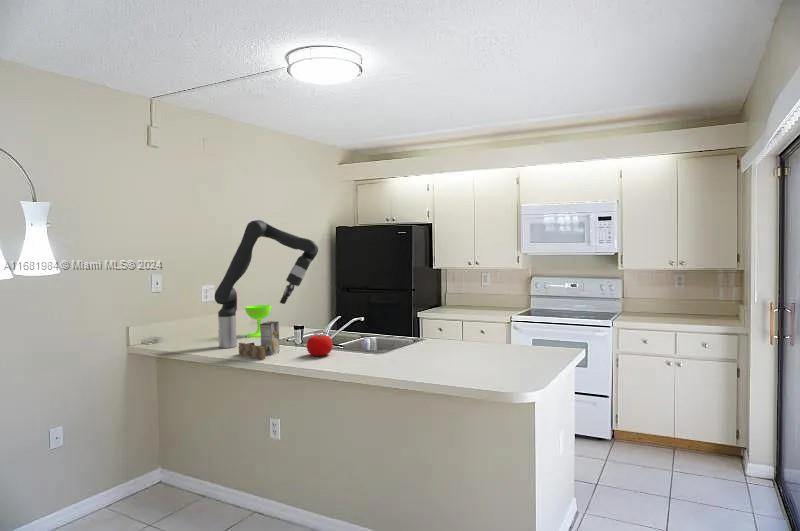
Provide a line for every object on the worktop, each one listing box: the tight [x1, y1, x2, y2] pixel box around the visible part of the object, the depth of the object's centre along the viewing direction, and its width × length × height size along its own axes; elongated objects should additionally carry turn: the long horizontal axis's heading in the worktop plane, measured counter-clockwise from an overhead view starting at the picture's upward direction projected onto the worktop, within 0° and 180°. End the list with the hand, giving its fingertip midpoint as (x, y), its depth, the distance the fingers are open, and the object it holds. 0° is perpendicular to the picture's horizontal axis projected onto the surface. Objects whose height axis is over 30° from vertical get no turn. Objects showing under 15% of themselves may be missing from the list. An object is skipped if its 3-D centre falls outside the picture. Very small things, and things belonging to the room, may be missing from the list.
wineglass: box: [244, 304, 272, 338], centre depth 353 cm, size 16×16×18 cm
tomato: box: [306, 334, 334, 357], centre depth 285 cm, size 14×13×10 cm
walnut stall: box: [238, 342, 267, 360], centre depth 287 cm, size 22×5×6 cm, turn 47°
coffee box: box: [260, 320, 281, 356], centre depth 293 cm, size 9×6×16 cm
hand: (282, 303), depth 295 cm, fingers open, 8 cm apart
